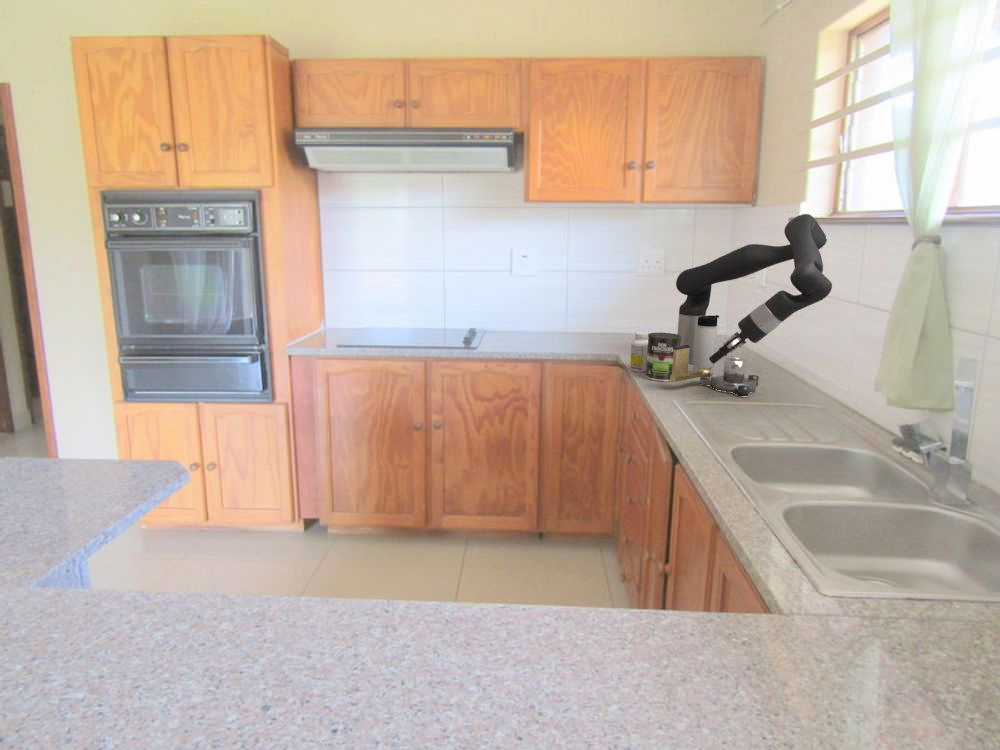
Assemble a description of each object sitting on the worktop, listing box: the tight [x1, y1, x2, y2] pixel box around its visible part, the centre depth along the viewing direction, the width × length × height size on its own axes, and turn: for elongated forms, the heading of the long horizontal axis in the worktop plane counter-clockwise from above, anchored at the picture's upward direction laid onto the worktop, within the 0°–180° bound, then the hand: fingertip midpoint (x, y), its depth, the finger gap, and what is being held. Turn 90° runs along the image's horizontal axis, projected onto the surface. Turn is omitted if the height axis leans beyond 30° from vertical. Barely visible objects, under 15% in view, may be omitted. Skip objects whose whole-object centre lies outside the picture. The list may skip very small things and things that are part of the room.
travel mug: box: [692, 314, 720, 377], centre depth 216 cm, size 6×7×20 cm
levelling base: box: [699, 355, 760, 397], centre depth 201 cm, size 19×16×10 cm
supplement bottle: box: [629, 331, 650, 373], centre depth 223 cm, size 7×7×13 cm
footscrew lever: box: [670, 345, 712, 383], centre depth 201 cm, size 17×4×10 cm, turn 126°
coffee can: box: [645, 332, 681, 383], centre depth 212 cm, size 10×10×14 cm
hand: (711, 360), depth 192 cm, fingers closed
